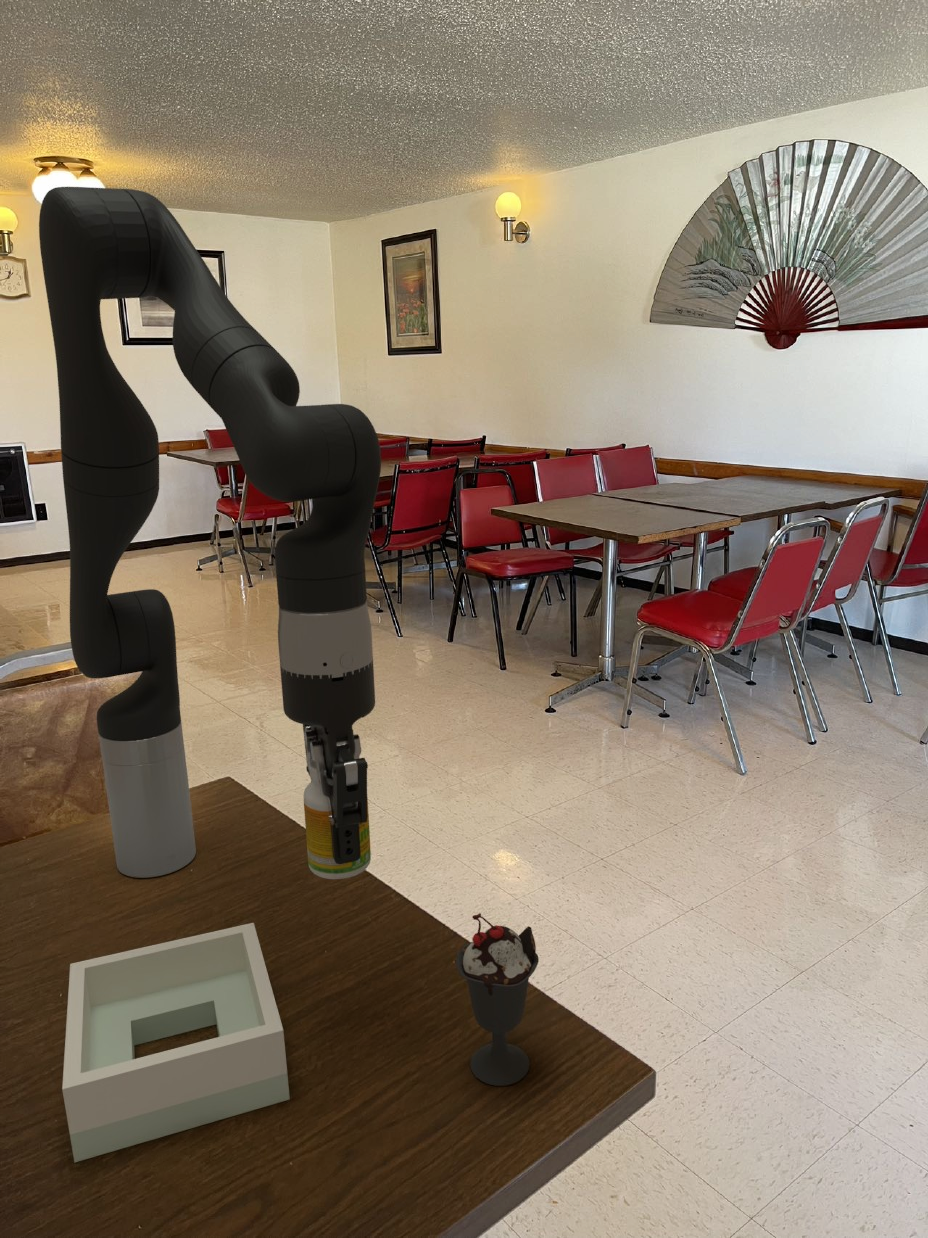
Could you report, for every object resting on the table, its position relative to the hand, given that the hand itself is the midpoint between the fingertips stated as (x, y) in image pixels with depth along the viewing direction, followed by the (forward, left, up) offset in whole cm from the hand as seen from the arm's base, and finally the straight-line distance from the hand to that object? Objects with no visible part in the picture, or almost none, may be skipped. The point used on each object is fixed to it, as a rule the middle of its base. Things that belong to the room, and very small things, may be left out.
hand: (338, 843), depth 79 cm
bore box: (0, -15, -17) cm, 23 cm away
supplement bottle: (0, 0, -2) cm, 2 cm away
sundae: (+11, +10, -17) cm, 23 cm away
